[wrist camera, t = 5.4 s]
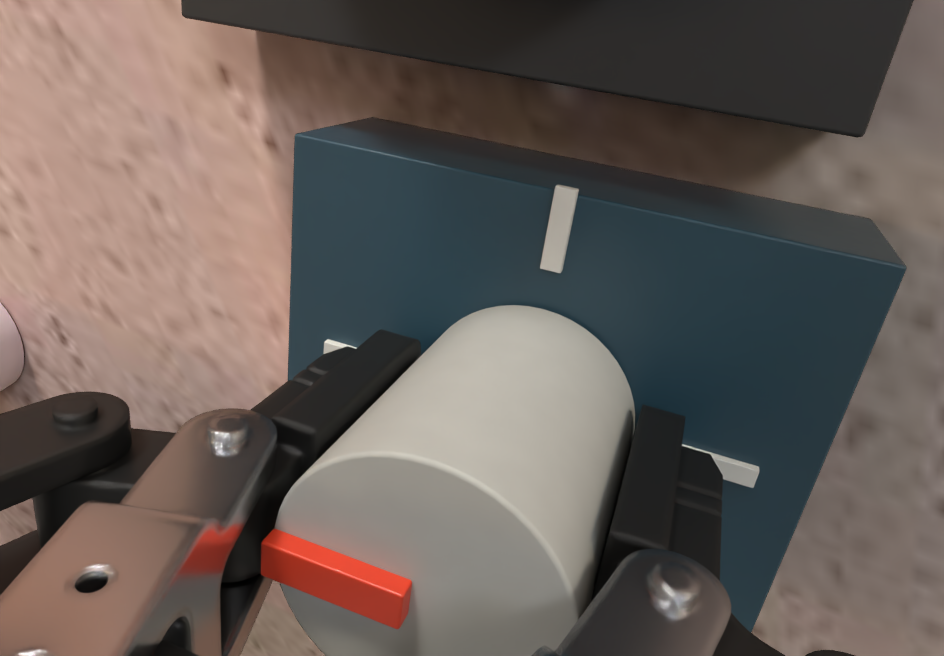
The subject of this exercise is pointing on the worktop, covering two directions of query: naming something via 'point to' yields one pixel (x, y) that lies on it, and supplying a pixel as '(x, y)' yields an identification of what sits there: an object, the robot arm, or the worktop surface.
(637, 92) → the orange push button panel
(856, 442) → the worktop surface
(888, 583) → the worktop surface
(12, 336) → the smoothie
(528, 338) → the dial
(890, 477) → the worktop surface
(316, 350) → the knob panel
